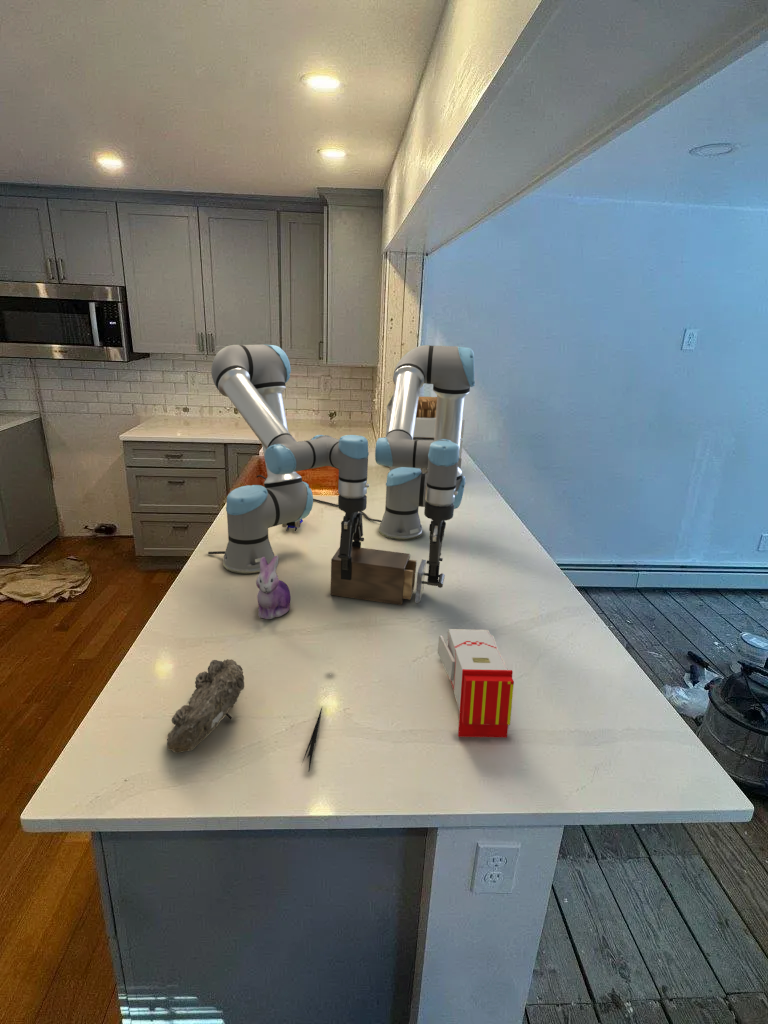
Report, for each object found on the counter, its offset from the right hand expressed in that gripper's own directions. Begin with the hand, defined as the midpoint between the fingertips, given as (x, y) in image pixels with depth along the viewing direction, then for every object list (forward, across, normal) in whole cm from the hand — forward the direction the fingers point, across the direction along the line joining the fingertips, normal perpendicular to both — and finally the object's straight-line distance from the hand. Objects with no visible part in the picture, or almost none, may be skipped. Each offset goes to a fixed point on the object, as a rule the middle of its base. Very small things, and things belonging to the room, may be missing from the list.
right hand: (432, 584), depth 154 cm
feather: (+5, -53, +15) cm, 56 cm away
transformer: (+5, +125, +22) cm, 127 cm away
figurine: (+5, -18, +38) cm, 43 cm away
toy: (+5, -37, -13) cm, 40 cm away
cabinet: (+5, 0, +17) cm, 18 cm away
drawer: (+4, 0, +9) cm, 10 cm away
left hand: (-1, 0, +23) cm, 23 cm away
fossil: (+5, -58, +34) cm, 68 cm away
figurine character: (+5, +40, +55) cm, 68 cm away
